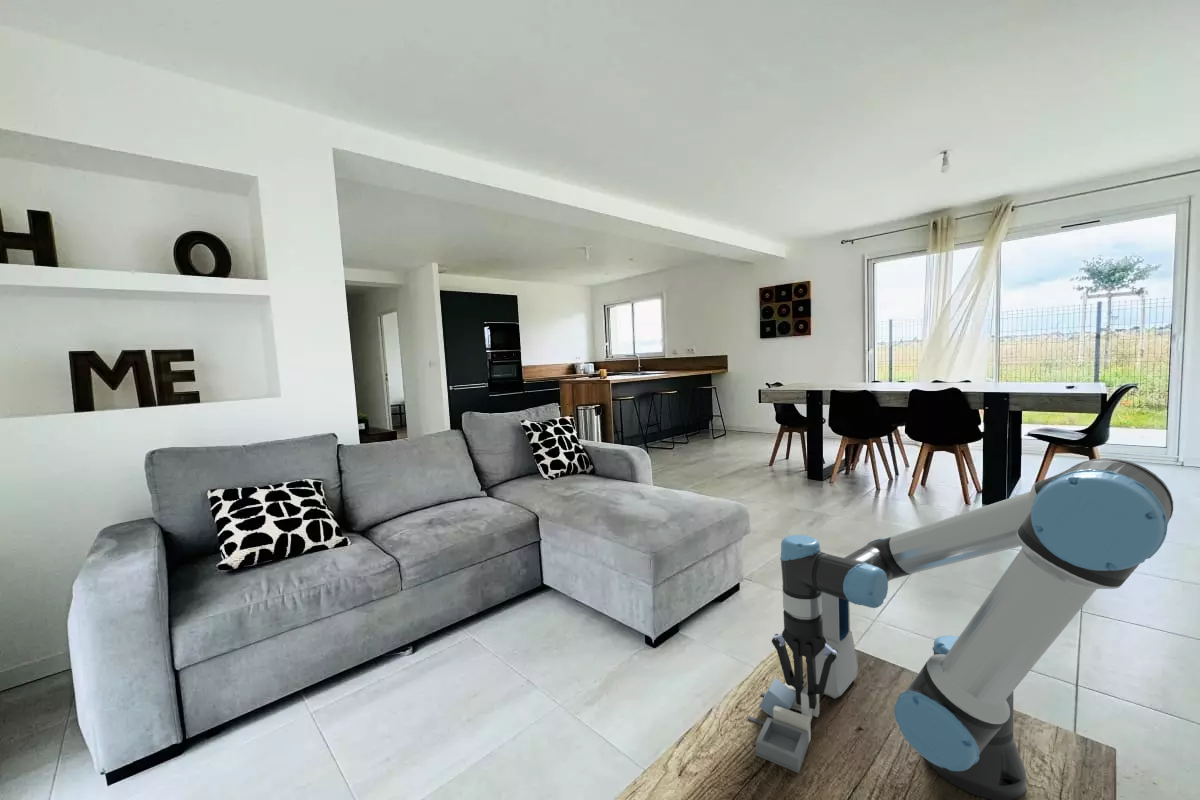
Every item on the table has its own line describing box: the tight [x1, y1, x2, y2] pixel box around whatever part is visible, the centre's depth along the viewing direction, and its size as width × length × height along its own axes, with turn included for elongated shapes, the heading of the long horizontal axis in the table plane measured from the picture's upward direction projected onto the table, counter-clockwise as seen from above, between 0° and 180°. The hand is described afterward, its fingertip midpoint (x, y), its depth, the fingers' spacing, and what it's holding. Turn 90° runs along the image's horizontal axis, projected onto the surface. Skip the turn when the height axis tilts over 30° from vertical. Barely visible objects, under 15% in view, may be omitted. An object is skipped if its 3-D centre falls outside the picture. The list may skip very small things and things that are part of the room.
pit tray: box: [755, 716, 810, 774], centre depth 96 cm, size 8×8×3 cm
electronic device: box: [805, 592, 859, 699], centre depth 114 cm, size 12×8×30 cm, turn 133°
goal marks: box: [747, 692, 766, 726], centre depth 108 cm, size 5×10×1 cm, turn 145°
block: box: [758, 677, 796, 719], centre depth 106 cm, size 5×5×5 cm
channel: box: [772, 682, 820, 744], centre depth 104 cm, size 7×10×4 cm
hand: (807, 720), depth 102 cm, fingers closed
